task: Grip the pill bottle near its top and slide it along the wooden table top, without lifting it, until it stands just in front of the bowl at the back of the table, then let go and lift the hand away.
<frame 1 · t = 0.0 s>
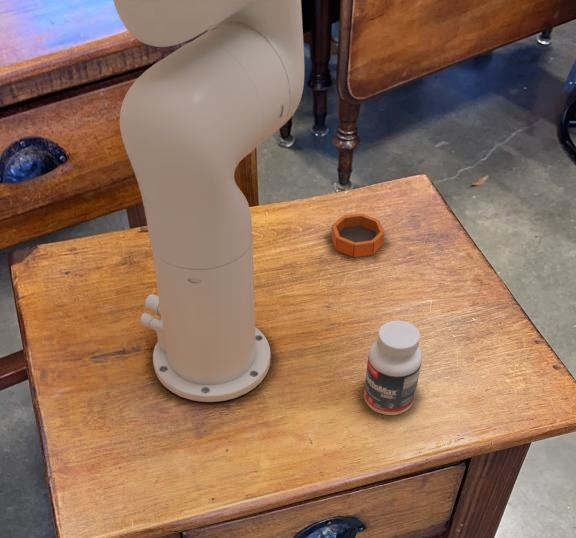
pill bottle: (388, 399, 87), on the table
bowl: (357, 241, 102), on the table
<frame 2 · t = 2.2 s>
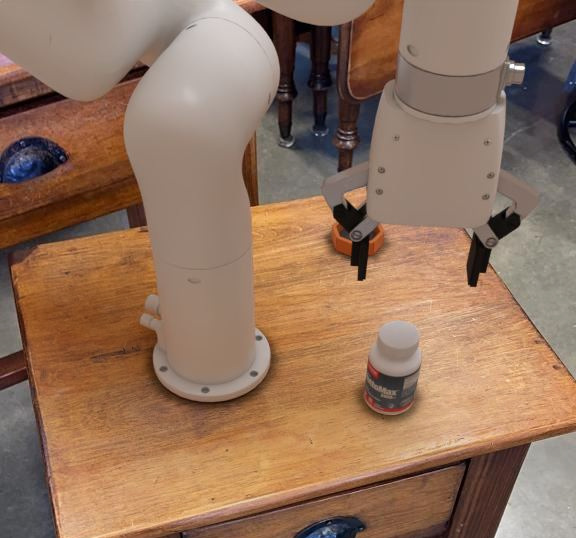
hand: (416, 274, 73), 16 cm above the table, tool pointing down, fingers open, 9 cm apart
nothing on the table moved.
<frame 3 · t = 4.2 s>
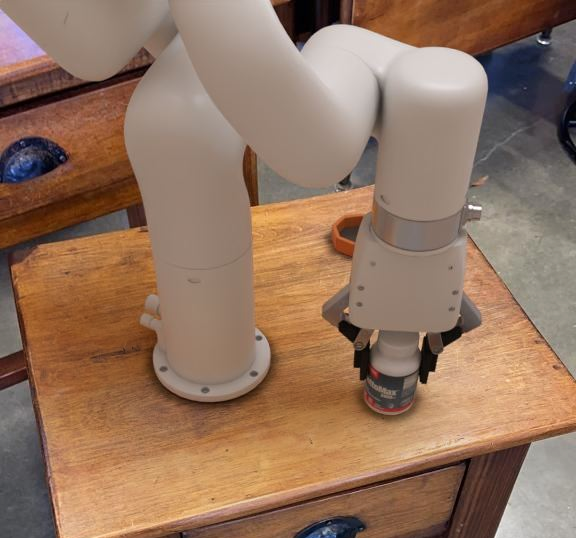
hand: (392, 371, 83), 4 cm above the table, tool pointing down, fingers closed on pill bottle, 5 cm apart
pill bottle: (388, 399, 87), on the table, touching gripper
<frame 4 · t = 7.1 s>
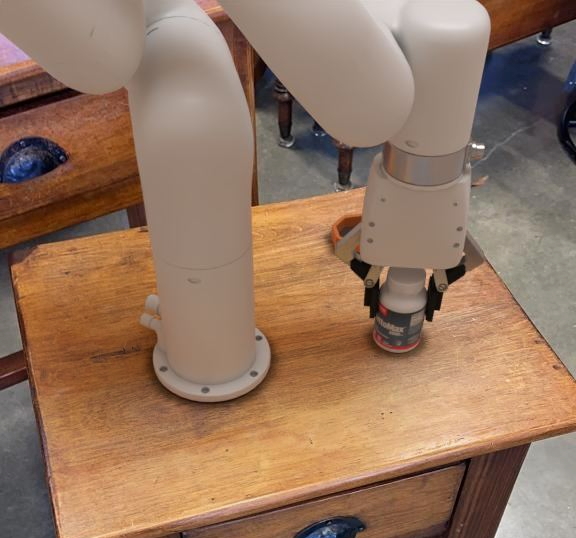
hand: (400, 310, 89), 4 cm above the table, tool pointing down, fingers closed on pill bottle, 5 cm apart
pill bottle: (396, 339, 92), on the table, touching gripper
when the fingers open (4 cm above the table, at t = 10.1 s): pill bottle stays where it is, on the table.
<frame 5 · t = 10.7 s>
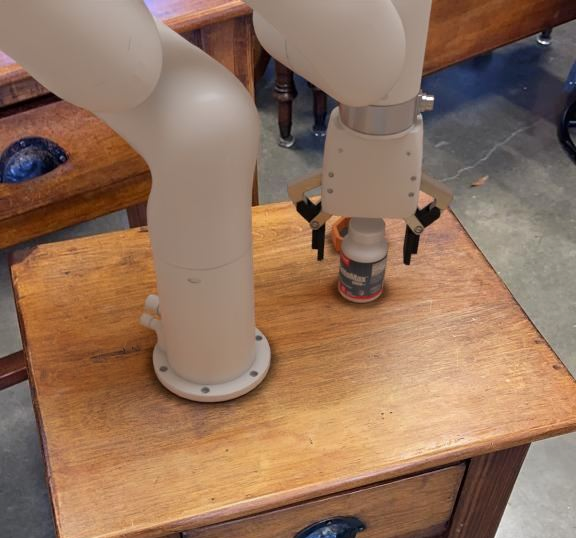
hand: (363, 255, 93), 5 cm above the table, tool pointing down, fingers open, 9 cm apart
pill bottle: (360, 290, 97), on the table
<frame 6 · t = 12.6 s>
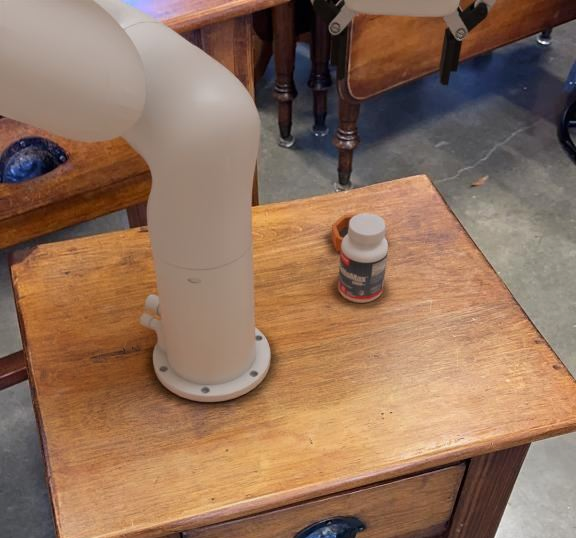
hand: (392, 75, 78), 24 cm above the table, tool pointing down, fingers open, 9 cm apart
nothing on the table moved.
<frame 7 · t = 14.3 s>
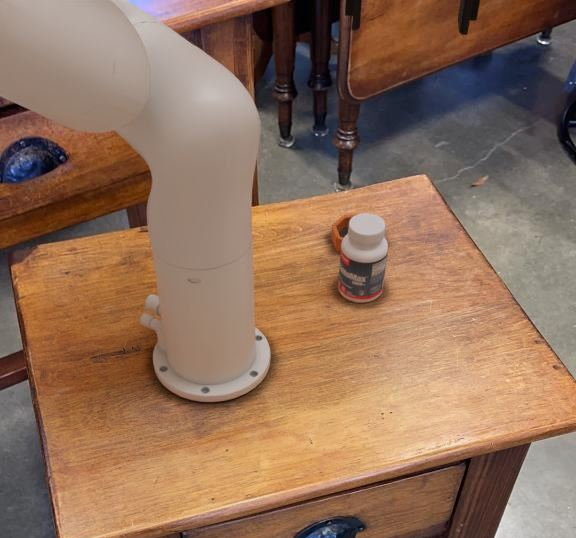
hand: (408, 25, 75), 28 cm above the table, tool pointing down, fingers open, 9 cm apart
nothing on the table moved.
at the end: pill bottle inside the target area on the table beside the bowl (0.2 cm from its centre), on the table; pill bottle tilted 0°; pill bottle moved 17.6 cm from its start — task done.
